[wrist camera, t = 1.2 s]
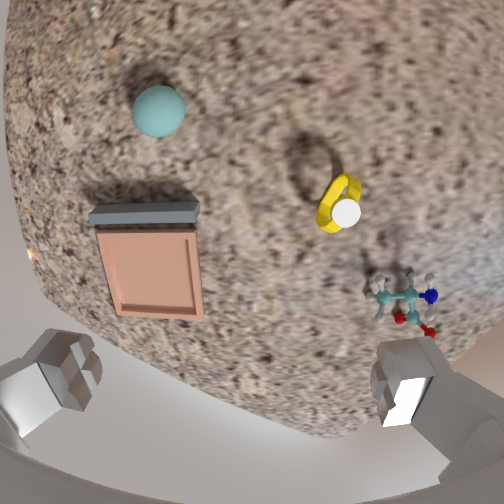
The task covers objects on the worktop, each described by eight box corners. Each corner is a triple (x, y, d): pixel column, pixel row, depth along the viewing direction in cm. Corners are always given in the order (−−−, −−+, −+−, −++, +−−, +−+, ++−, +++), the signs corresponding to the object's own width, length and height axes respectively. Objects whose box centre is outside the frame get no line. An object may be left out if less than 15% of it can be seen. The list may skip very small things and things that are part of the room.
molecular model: (342, 336, 37) (402, 360, 27) (358, 261, 37) (423, 268, 28) (396, 338, 41) (451, 355, 32) (410, 274, 42) (467, 282, 32)
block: (99, 204, 33) (87, 214, 30) (199, 201, 33) (193, 211, 30) (101, 214, 33) (90, 224, 31) (199, 211, 33) (194, 222, 30)
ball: (142, 89, 27) (122, 88, 22) (189, 84, 27) (177, 81, 22) (144, 135, 29) (125, 143, 25) (191, 132, 29) (179, 138, 25)
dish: (100, 229, 34) (96, 233, 33) (196, 228, 34) (194, 232, 33) (120, 309, 40) (117, 315, 39) (204, 314, 40) (203, 320, 38)
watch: (333, 165, 31) (351, 175, 25) (355, 177, 31) (376, 190, 26) (306, 213, 33) (317, 233, 27) (327, 224, 33) (342, 246, 28)
